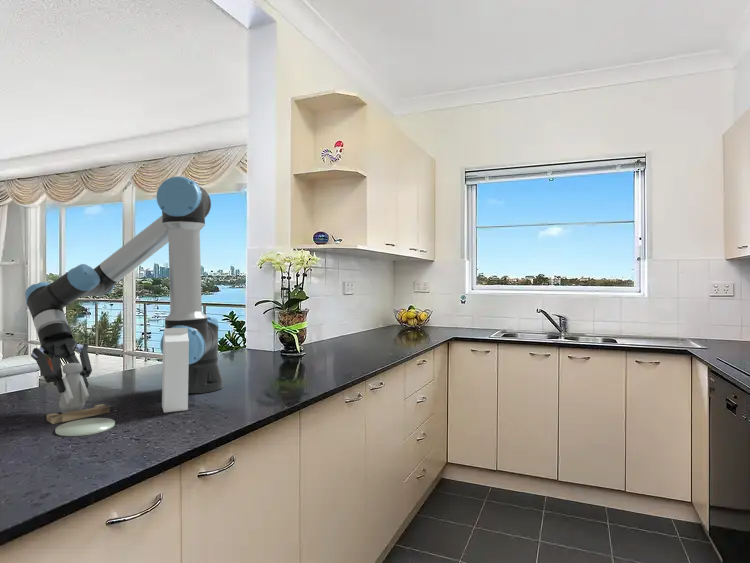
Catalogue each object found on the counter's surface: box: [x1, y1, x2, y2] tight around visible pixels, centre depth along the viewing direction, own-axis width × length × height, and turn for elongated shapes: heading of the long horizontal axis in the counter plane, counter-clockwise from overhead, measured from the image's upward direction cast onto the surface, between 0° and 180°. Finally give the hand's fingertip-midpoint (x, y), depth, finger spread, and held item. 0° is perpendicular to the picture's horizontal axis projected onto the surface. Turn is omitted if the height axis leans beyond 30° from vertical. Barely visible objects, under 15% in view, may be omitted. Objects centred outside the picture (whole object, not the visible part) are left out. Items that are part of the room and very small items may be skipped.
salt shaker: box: [58, 362, 86, 414], centre depth 123 cm, size 6×6×13 cm
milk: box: [161, 328, 189, 413], centre depth 128 cm, size 6×6×22 cm
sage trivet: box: [54, 417, 116, 437], centre depth 112 cm, size 12×12×1 cm
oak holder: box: [46, 403, 110, 425], centre depth 120 cm, size 4×13×2 cm, turn 143°
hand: (78, 399), depth 121 cm, fingers closed on salt shaker, 3 cm apart
